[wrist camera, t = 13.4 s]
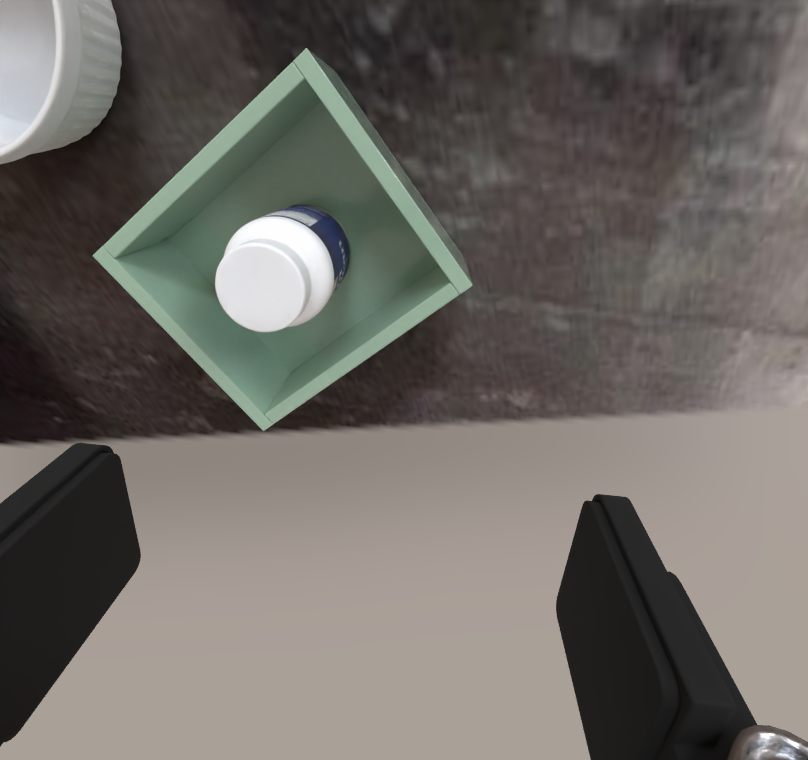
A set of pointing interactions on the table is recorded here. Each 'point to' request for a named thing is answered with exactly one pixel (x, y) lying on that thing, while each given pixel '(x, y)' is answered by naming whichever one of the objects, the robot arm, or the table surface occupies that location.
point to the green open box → (271, 191)
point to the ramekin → (55, 72)
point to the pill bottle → (282, 268)
